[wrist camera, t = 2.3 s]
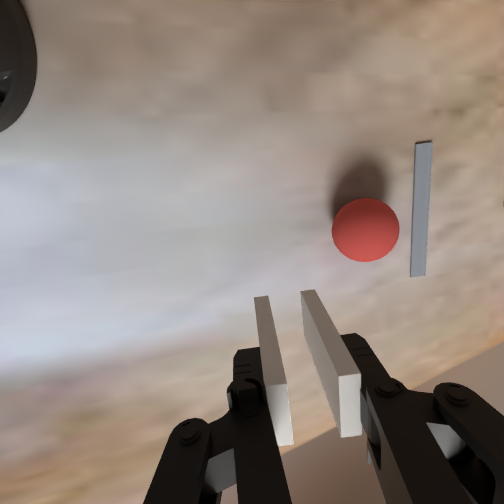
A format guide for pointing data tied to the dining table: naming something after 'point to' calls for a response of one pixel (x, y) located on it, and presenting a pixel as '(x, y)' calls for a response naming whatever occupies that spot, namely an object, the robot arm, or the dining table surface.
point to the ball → (365, 230)
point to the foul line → (420, 208)
